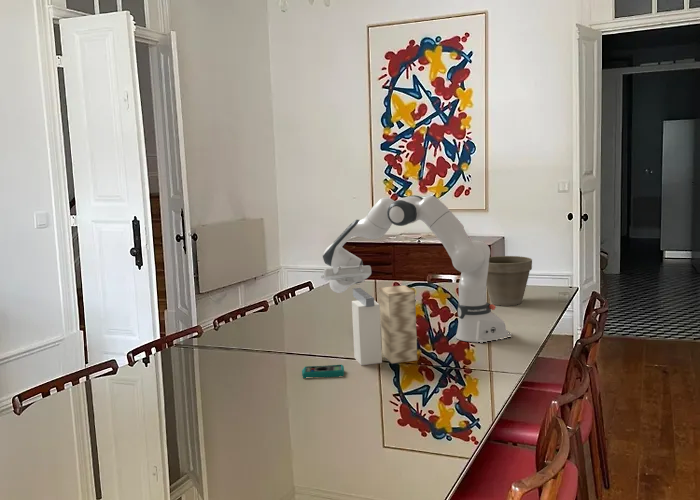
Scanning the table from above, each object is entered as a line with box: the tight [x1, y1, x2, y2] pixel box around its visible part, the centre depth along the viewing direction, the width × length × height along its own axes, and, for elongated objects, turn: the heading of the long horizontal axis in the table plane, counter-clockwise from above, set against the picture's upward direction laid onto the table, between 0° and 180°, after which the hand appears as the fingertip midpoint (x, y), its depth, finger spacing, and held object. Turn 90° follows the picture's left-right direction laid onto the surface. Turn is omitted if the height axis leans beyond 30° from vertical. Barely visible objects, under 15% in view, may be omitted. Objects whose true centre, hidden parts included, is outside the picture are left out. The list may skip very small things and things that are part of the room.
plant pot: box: [486, 255, 533, 307], centre depth 340 cm, size 25×25×22 cm
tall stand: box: [378, 285, 418, 364], centre depth 261 cm, size 10×12×26 cm
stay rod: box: [352, 287, 375, 307], centre depth 260 cm, size 3×20×3 cm, turn 14°
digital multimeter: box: [301, 364, 345, 379], centre depth 247 cm, size 7×15×3 cm, turn 90°
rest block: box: [351, 299, 383, 366], centre depth 259 cm, size 8×10×22 cm
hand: (350, 267), depth 287 cm, fingers open, 8 cm apart
